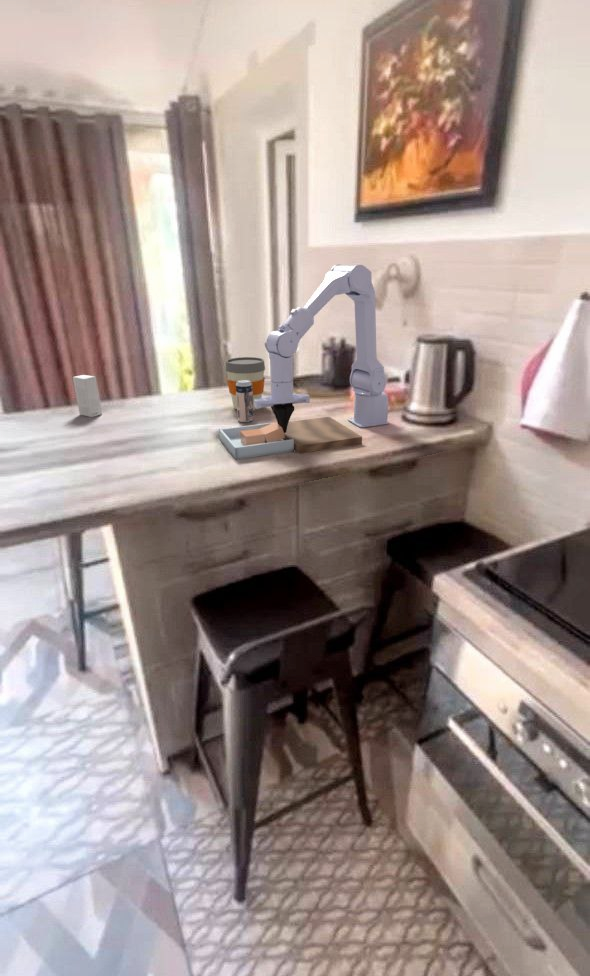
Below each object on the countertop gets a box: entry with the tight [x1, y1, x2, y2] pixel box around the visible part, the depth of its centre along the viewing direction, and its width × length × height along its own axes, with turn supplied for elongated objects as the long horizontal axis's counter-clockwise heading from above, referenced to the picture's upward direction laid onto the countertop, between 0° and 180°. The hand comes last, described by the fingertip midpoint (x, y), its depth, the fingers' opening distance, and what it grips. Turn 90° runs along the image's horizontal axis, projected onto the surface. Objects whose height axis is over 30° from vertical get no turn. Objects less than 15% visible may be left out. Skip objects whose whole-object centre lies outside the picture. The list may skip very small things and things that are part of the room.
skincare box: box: [72, 374, 103, 418], centre depth 159 cm, size 6×4×12 cm
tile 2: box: [259, 421, 285, 443], centre depth 135 cm, size 5×5×3 cm
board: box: [276, 416, 363, 454], centre depth 139 cm, size 18×20×2 cm
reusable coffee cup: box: [225, 356, 266, 411], centre depth 165 cm, size 13×13×15 cm
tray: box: [218, 422, 295, 460], centre depth 134 cm, size 15×16×3 cm
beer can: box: [236, 380, 255, 423], centre depth 152 cm, size 5×5×12 cm
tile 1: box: [240, 429, 265, 446], centre depth 133 cm, size 5×5×3 cm
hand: (282, 431), depth 136 cm, fingers closed
